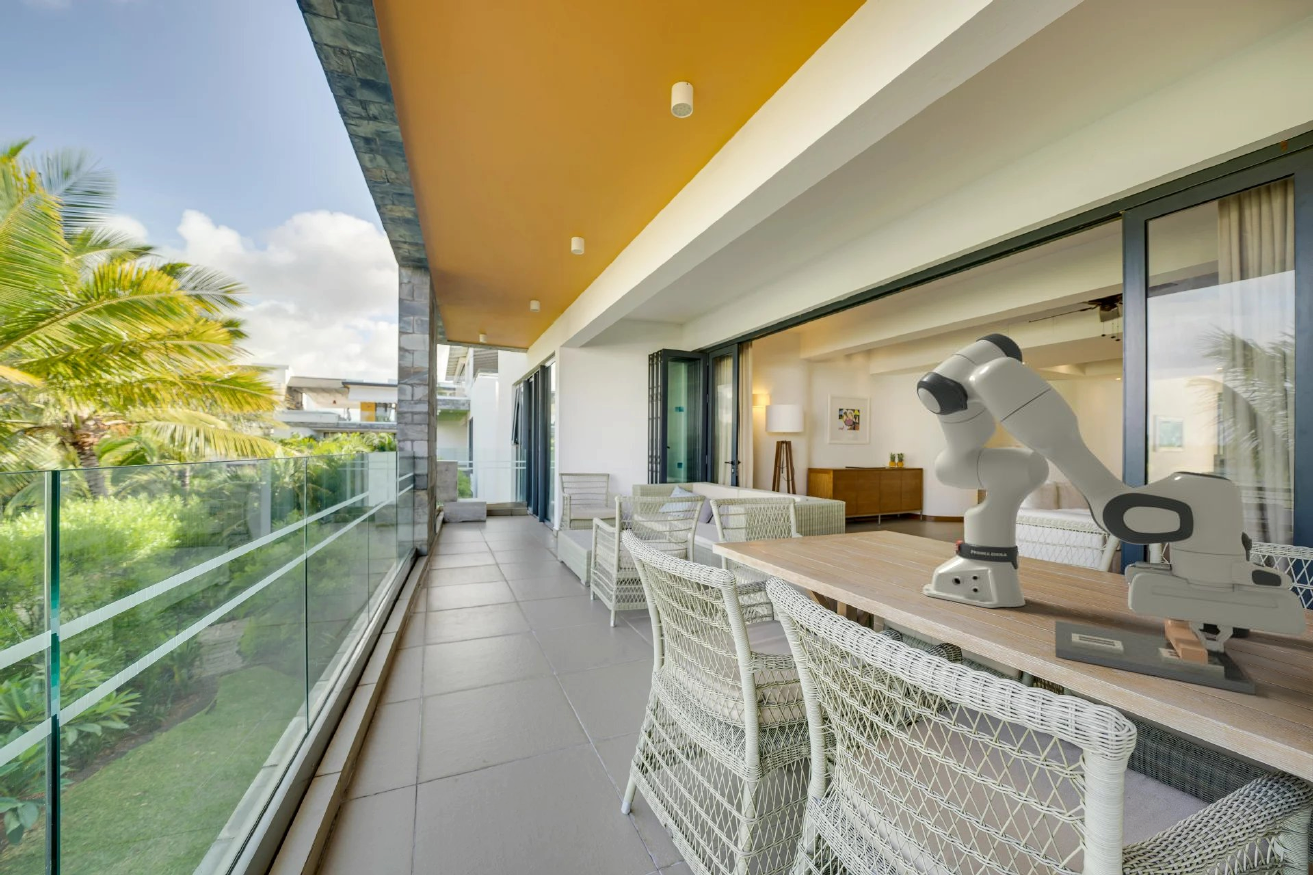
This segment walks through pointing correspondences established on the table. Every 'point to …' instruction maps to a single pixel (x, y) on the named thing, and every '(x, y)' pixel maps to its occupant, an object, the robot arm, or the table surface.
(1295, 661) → the table surface
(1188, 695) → the table surface
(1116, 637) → the label panel
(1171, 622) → the swing bar
